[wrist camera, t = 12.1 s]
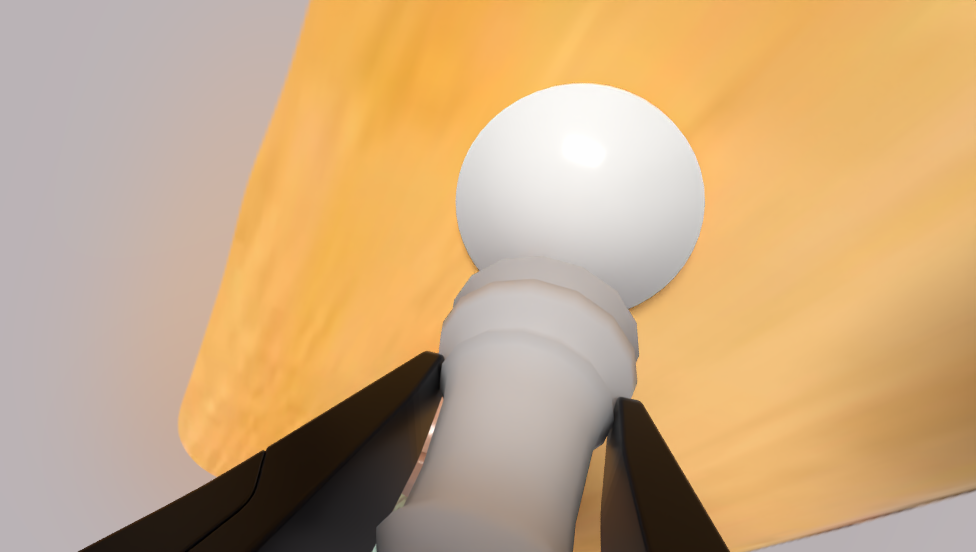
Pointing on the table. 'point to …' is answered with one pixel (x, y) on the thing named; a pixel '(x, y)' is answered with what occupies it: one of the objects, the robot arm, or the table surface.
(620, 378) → the rook chess piece
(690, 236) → the coaster
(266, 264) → the table surface
